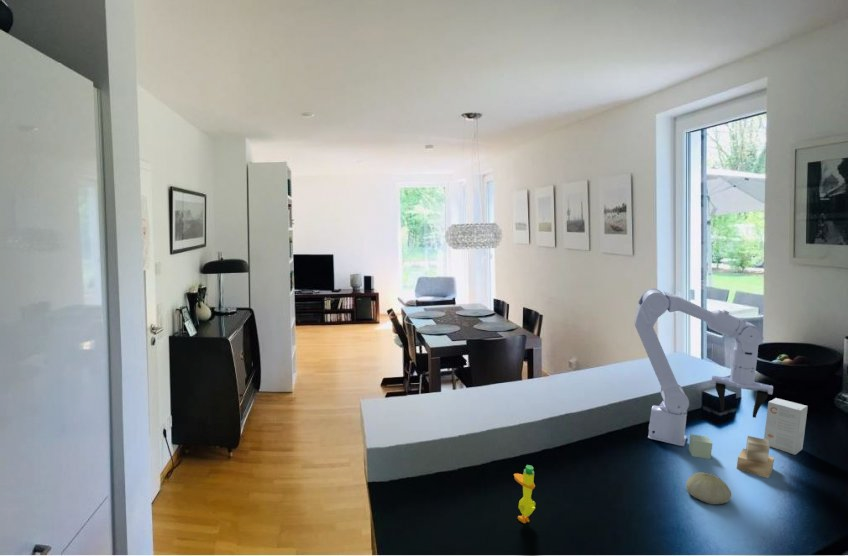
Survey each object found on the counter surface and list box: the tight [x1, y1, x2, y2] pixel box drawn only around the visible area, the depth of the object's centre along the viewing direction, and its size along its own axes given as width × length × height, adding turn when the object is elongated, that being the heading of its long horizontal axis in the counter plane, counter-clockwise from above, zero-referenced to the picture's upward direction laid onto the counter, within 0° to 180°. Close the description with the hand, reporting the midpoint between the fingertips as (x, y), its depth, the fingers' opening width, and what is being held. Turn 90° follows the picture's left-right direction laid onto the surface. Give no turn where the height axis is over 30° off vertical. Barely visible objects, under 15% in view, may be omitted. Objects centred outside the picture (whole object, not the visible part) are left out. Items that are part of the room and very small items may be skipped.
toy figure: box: [513, 464, 536, 524], centre depth 108 cm, size 7×4×12 cm, turn 30°
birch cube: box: [745, 435, 771, 463], centre depth 135 cm, size 4×4×4 cm
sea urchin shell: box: [685, 472, 732, 505], centre depth 121 cm, size 9×8×8 cm
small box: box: [763, 397, 809, 456], centre depth 149 cm, size 8×6×13 cm
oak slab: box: [736, 448, 775, 479], centre depth 135 cm, size 7×7×4 cm
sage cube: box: [688, 433, 713, 460], centre depth 143 cm, size 4×4×4 cm
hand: (737, 413), depth 146 cm, fingers open, 7 cm apart
